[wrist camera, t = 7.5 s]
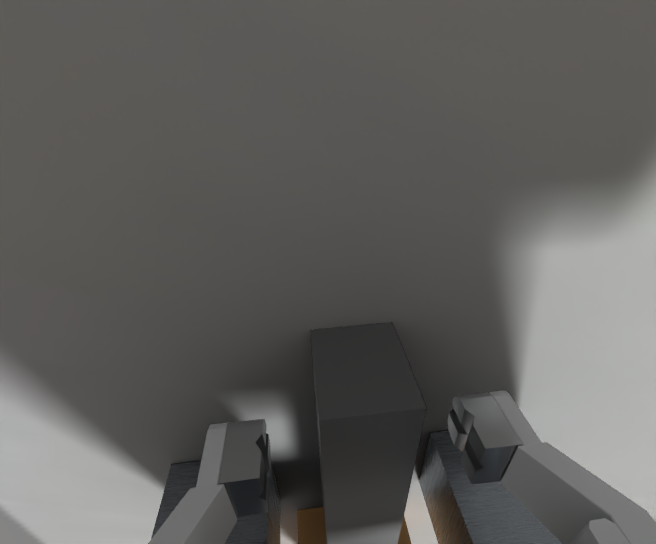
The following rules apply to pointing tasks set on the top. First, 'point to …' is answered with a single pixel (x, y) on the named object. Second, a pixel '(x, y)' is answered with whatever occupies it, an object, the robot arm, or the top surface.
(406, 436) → the plug
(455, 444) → the robot arm
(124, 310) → the top surface
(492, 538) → the grey u-shaped block
